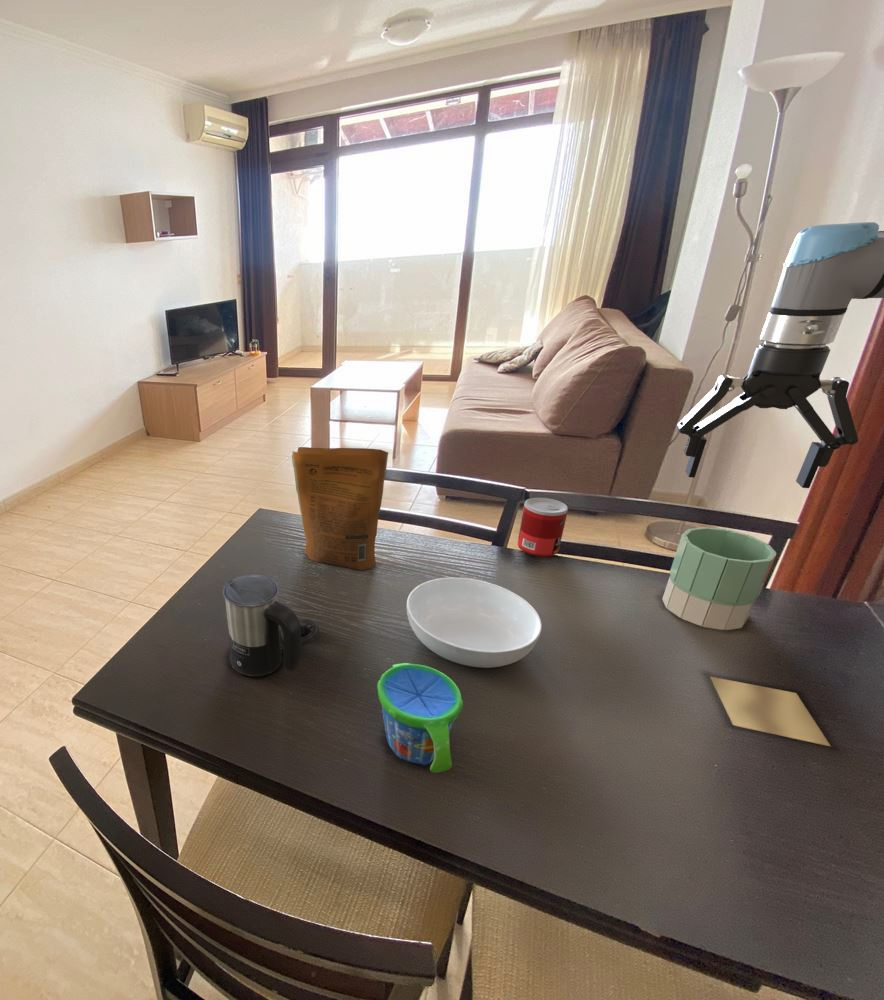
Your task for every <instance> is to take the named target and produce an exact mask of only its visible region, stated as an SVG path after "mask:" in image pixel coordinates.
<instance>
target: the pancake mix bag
mask: <svg viewBox="0 0 884 1000" xmlns="http://www.w3.org/2000/svg"><path fill="white" fill-rule="evenodd" d="M388 458H389V452H388V451H385V450H383V449H378V448H363V447H362V448H361V447H330V448H329V447H325V448H324V447H309V446H308V447H307V446H298V447H297V451H296V450H292V453H291V463H292V467H293V472H294V482H295V490H296V494H297V500H298V506H299V511H300V515H301V522H302V529H303V533H304V538H305V542H306V544H305V547H304V554H305V555H306V556H307V557H308V558H309V560H311V561H313V562H315V563H320V564H325V565H329V566H337V567H342V568H348V569H352V570H357V571H365V570H369V569H372V568H375V567H377V561H376V560H377V559H376V548H375V547H376V546H375V545H376V539H377V534H378V524H379V515H380V512H381V507H382V502H383V496H384V486H385V485H384V484H385V479H386V476H387V465H388Z"/></svg>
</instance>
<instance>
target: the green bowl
mask: <svg viewBox="0 0 884 1000" xmlns="http://www.w3.org/2000/svg"><path fill="white" fill-rule="evenodd" d="M777 556H778V554H777V552H776V550H774V548H773V547H772V546H771V545H770V544H769V543H768V542H765V541H763V540H761V539H759V538H757V537H754V536H753V535H750V534H746V533H743V532H739V531H735V530H731V529H726V528H720V527H719V528H718V527H709V526H702V527H692V528H688V529H687V530H686V531H685V532H683V533H682V534H681V536H680V540H679V542H678V545H677V549H676V551H675V555H674V557H673V560H672V564H671V567H670V569H669V577H670V579H671V581H672V583H673V584H674V585H675V586H676V587H678V588H679V589H681V590H682V591H684V592H686V593H688V594H690V595H692V596H694V597H697V598H699V599H702V600H705V601H709V602H713V603H717V604H723V605H732V606H741V605H748V604H751V603H753V602H754V603H755V602H756V601H757V600H758V598H759V596H760V594H761V592H762V590H763V588H764V586H765V583H766V580H767V578H768V577H769V574H770V571H771V569H772V567H773V564H774V562H775V559H776V557H777Z"/></svg>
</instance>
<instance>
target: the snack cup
mask: <svg viewBox="0 0 884 1000" xmlns="http://www.w3.org/2000/svg"><path fill="white" fill-rule="evenodd" d="M376 688H377V694H378V701H379V702H380V704H381V708H382V710H381V711H382V716H383V717H382V718H383V723H384V724H383V725H384V732H385V736H386V741H387V744H388V746H389V747H390V749H391V751H392V752H393V753H394V755H395V756H397V757H398V758H399V759H401V760H404V761H406V762H407V763H408V762H409V763H412V764H416V765H417V764H418V765H423V766H426V765H430V767H429V770H430V772H431V773H436V774H438V773H444V772H447V771H449V770H450V769H451V768H452V766H453V763H452V762H453V761H452V756H451V746H450V745H451V744H450V742H451V741H450V734H451V730H452V727H453V725H454V723H455V720H457V718H458V717H459V715H460V712H461V711H462V710H463V706H464V701H463V699H462V695H461V691H460V689H459V687H458V685H456V683H455V682H454V681H453V679H451V678H450V677H449V676H447V675H446V674H445V673H443V672H441V671H440V670H437V669H436V668H433V667H430V666H427V665H423V664H417V663H416V664H415V663H408V662H406V663H405V662H403V663H396V664H392V665H391V667H390V668H389V669H387V670H386V671H384V673H383V674H381V676H380V679H379V680H378V681H377V684H376Z"/></svg>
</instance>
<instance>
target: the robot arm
mask: <svg viewBox="0 0 884 1000" xmlns="http://www.w3.org/2000/svg"><path fill="white" fill-rule="evenodd" d="M782 265H783V268H782V272H781V274H780V277H779V280H778V283H777V287H776V291H775V293H774V296H773V299H772V303H771V306H770V309H769V311H768V314H767V316H766V320H765V322H764V324H763V328H762V330H761V333H760V336H759V340H760V341H761V342H762V343H759V344H758V345H757V346H756V348H755V351H754V354H753V356H752V357H753V358H752V360H751V362H750V365H749V369H748V372H747V373H746V375H745V376H744V377H734V376H729V375H728V374H726V373H723V374H720V375H719V376H718V377H717V379H716V381H715V384H714V386H713V388H712V389H710V391H708V393H707V394H706V395H705V396H704V397H702V399H701V400H700V401H698V403H697V404H696V405H695V406H694V407H693V408H692V409H691V410H690V411H689V412H687V414H686V415H685V416H684V417H683V418H682V419H681V420H680V421H679V422H678V423H677V424H676V429H677V430H678V432H679V434H681V435H686V436H687V439H686V442H685V446H684V451H683V452H684V455H685V456H686V457H689V458H688V461H687V464H686V467H685V473H686V475H687V477H688V478H691V479H692V478H694V479H695V478H696V476H697V472H698V468H699V466H700V462H701V460H702V456H703V454H704V450H705V448H706V444H707V441H708V440H707V438H706V436H705V435H707V434H708V433H710V432H712V431H713V430H716V429H717V428H718V427H720V426H721V425H723V424H724V423H726V422H728V421H730V420H731V419H732V418H734V417H736V416H737V415H739V414H741V413H742V412H745V411H748V410H749V409H751V408H753V407H757V408H759V409H773V408H775V409H778V410H788V409H790V408H793V407H794V408H795V409H796V410H797V412H798V413H799V414H800V415H801V417H802V418H803V419H804V421H805V422H806V424H807V425H808V426H809V427H810V429H811V430H812V431H813V432H814V434H815V435H816V436H817V438H818V439H819V441H820V442H819V441H811V443H810V445H809V447H808V451H807V453H806V455H805V458H804V460H803V462H802V465H801V467H800V469H799V472H798V475H797V476H796V480H795V483H797V484H798V486H800V487H801V488H802V489H810V488H811V485H812V483H813V481H814V478H815V475H816V473H817V472H818V470H819V469H818V468H819V467H821V468H826V467H827V466H828V465H829V464H830V461H831V459H832V456H833V454H834V452H835V450H838V449H840V448H841V447H842V446H844V445H849V446H851V445H853V446H854V445H855V444H857V443H859V437H858V433H857V430H856V427H855V423H854V420H853V419H854V418H853V416H852V412H851V408H850V405H849V401H848V398H847V395H848V390H849V386H850V382H849V381H847V380H846V379H844V378H841V377H840V376H835V377H832V378H830V379H821V378H820V377H821V374H822V372H823V370H824V368H825V365H826V362H827V360H828V357H829V355H830V353H831V348H830V347H829V346H828V345H830V344H832V343H834V342H835V339H836V337H837V334H838V331H839V329H840V327H841V324H842V322H843V319H844V316H845V314H846V313H847V311H848V307H849V305H850V302H851V301H852V300H854V299H855V300H868V299H884V230H880V225H879V224H878V223H877V222H874V221H873V222H871V221H868V222H867V221H865V222H848V223H830V224H817V225H811V226H807V227H805V228H803V229H802V230H800V231H799V232H798V233H797V235H796V236H795V238H794V241H793V243H792V244H791V247H790V250H789V251H788V255H787V257H786V259H785V261H784V262H783V264H782ZM738 387H741V389H742V391H743V392H742V393H741V394H739V395H738V396H736V397H735V398H734V399H732V401H731V402H729V403H728V404H726V405H725V406H723V407H721V408H719V409H718V410H717V411H715V412H714V413H712V414H711V415H709V416H707V417H706V418H704V417H705V416H706V415H708V413H710V411H712V409H714V407H716V406H717V405H718V403H720V402H721V401H722V400H723V399H724V398H725V397H726V395H727V394H728V393H729V392H733V391H734V390H735V389H737V388H738ZM820 389H821V391H822V393H823V394H825V395H826V397H827V400H828V404H829V407H830V411H831V414H832V417H833V421H834V425H835V428H836V431H837V434H833V433H832V431H831V429H830V428H829V427H828V426H827V424H826V423H825V422H824V421H823V419H822V418H821V416H820V415H819V414H818V413H817V411H816V410H815V409H814V407H813V405H812V403H810V401H809V400H808V399H807V398H808V397H810V396H811V395H813V394H814V393H816V392H817V391H819V390H820ZM703 418H704V419H703ZM702 419H703V420H702Z"/></svg>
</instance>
